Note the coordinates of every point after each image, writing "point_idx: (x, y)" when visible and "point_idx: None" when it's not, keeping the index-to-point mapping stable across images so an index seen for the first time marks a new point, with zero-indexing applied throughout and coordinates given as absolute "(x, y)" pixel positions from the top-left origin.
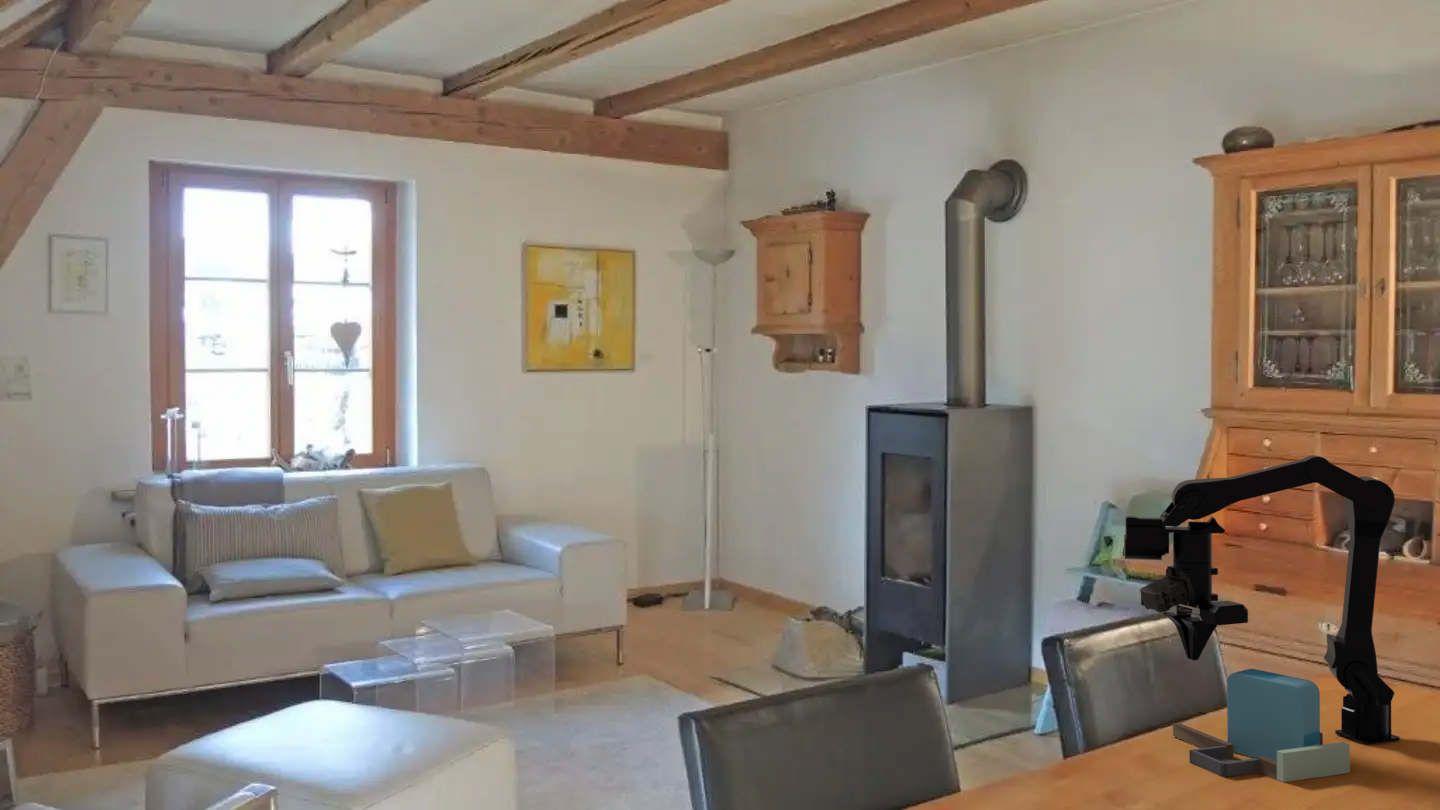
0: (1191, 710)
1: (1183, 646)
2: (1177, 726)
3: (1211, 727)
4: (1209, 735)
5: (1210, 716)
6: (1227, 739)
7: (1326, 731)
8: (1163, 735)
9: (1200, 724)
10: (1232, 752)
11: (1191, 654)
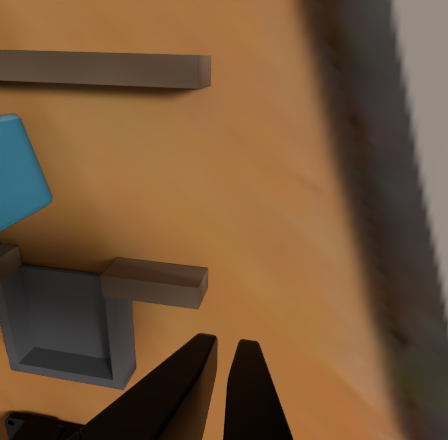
0: (434, 335)
1: (275, 398)
2: (174, 55)
3: (250, 249)
4: (33, 75)
5: (347, 331)
6: (6, 115)
7: None
8: (240, 34)
9: (292, 245)
10: None
11: (191, 353)
